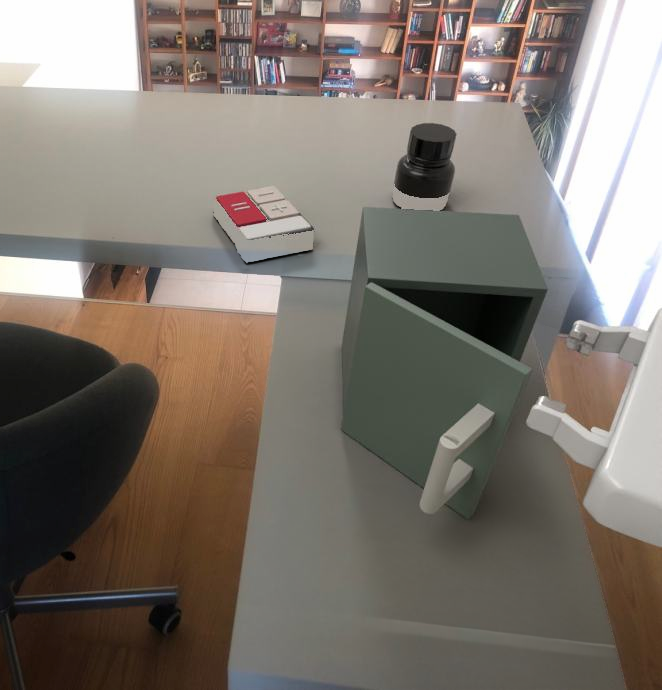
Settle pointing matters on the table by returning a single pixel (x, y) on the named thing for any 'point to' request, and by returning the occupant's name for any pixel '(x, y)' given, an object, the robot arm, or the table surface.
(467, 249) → the green cabinet
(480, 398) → the cabinet door
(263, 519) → the table surface
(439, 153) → the ink bottle
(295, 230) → the calculator
